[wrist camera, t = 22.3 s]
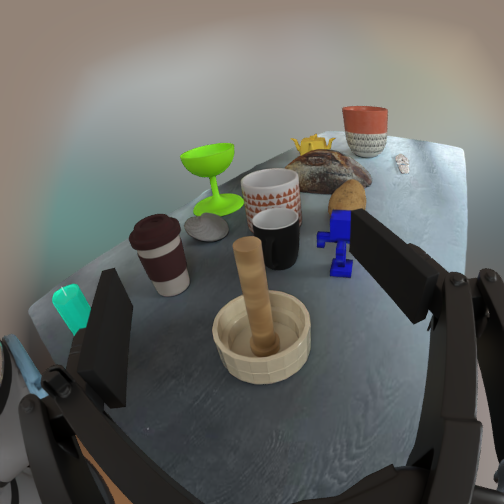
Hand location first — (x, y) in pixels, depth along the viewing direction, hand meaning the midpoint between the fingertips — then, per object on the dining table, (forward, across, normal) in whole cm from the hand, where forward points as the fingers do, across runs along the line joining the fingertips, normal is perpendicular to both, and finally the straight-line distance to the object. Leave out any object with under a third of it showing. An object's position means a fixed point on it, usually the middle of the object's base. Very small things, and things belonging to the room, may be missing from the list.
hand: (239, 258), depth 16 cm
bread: (+76, +41, -27) cm, 90 cm away
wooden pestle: (+15, +3, -26) cm, 31 cm away
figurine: (+28, +21, -27) cm, 44 cm away
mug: (+35, +11, -27) cm, 45 cm away
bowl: (+15, +2, -27) cm, 31 cm away
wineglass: (+72, +3, -28) cm, 78 cm away
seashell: (+55, -2, -28) cm, 62 cm away
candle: (+28, -29, -27) cm, 49 cm away
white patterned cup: (+52, +15, -27) cm, 61 cm away
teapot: (+104, +49, -28) cm, 118 cm away
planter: (+94, +71, -27) cm, 121 cm away
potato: (+45, +32, -27) cm, 62 cm away
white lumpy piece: (+79, +79, -27) cm, 115 cm away
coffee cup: (+37, -11, -27) cm, 47 cm away
